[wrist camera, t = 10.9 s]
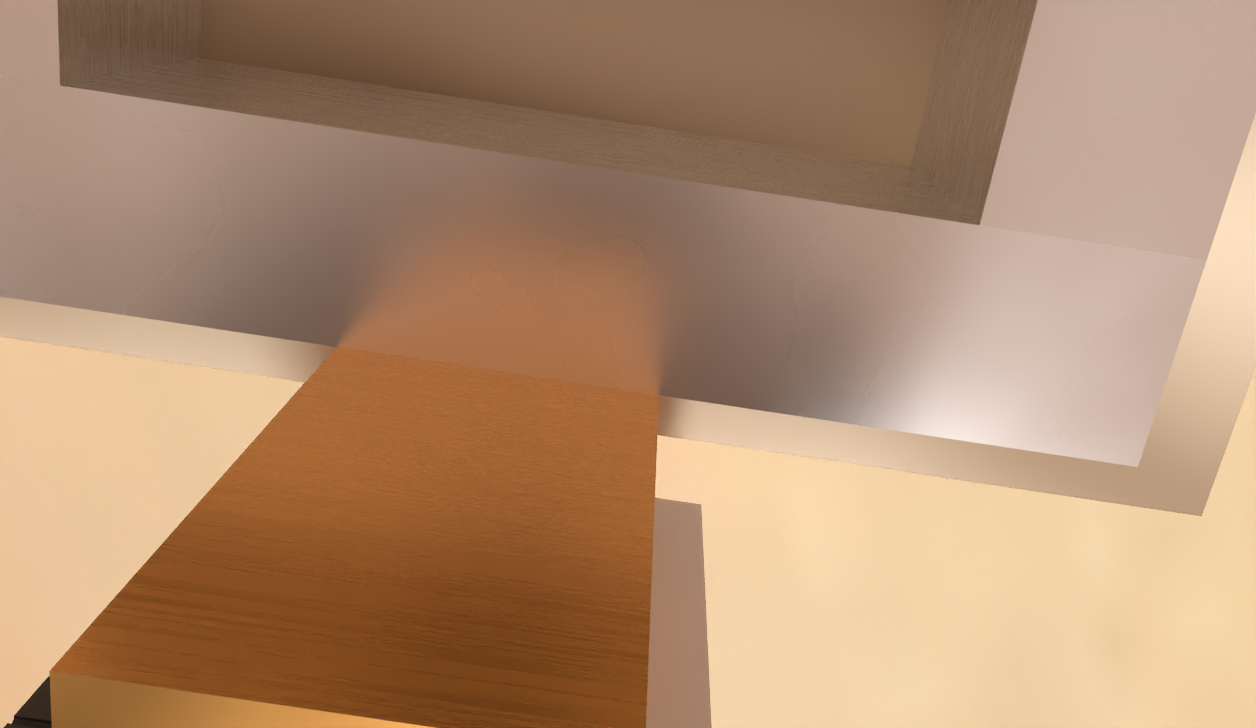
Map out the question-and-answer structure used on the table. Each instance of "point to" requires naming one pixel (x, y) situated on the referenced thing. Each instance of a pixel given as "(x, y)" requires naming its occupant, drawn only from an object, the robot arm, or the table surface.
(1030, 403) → the square frame with handle
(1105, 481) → the board
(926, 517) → the table surface
